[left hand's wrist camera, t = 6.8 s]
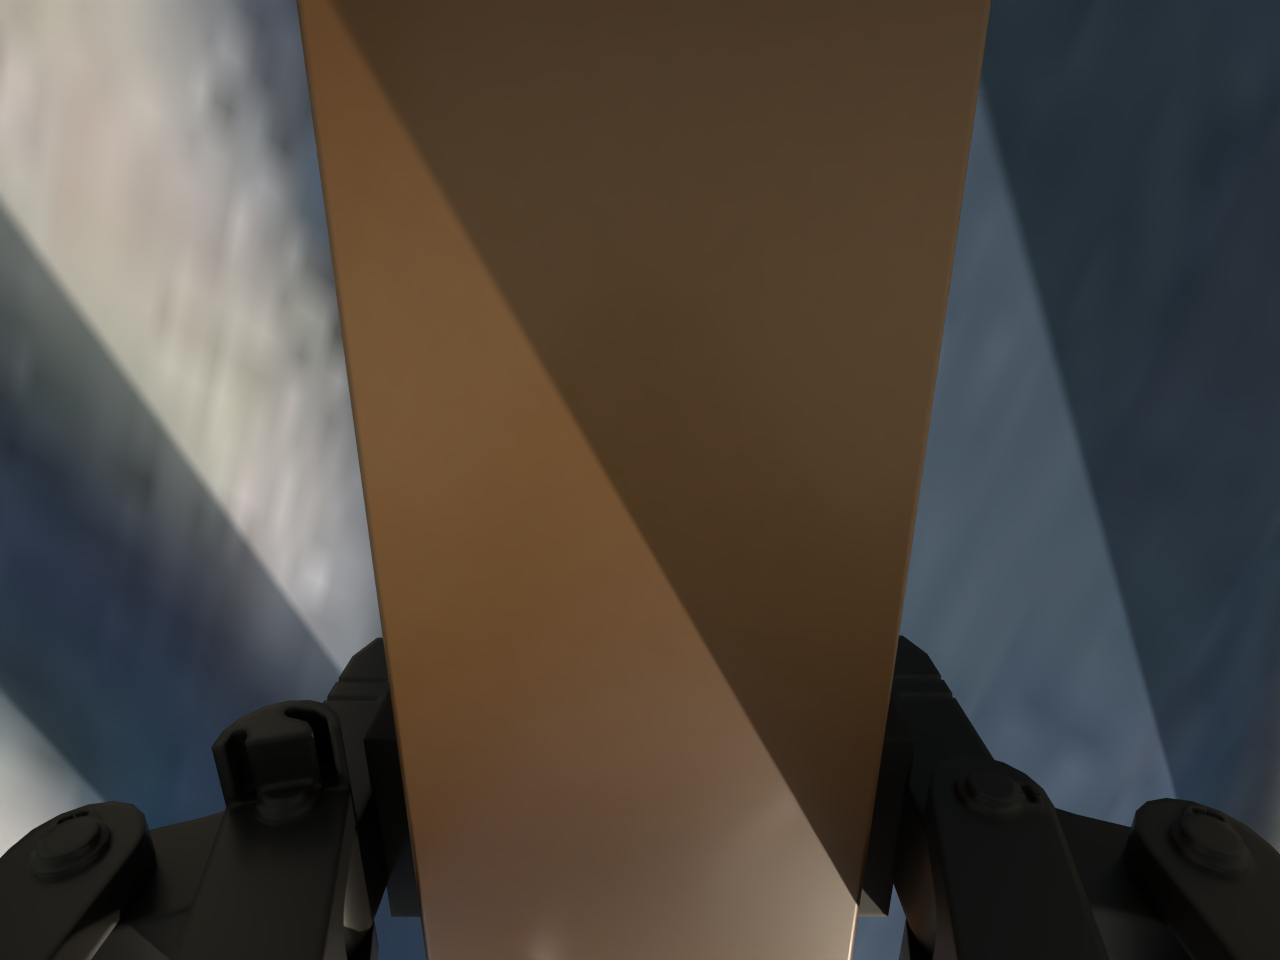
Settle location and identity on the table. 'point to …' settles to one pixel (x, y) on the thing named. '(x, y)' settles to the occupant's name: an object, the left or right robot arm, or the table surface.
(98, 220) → the table surface
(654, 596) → the bar
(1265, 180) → the table surface
